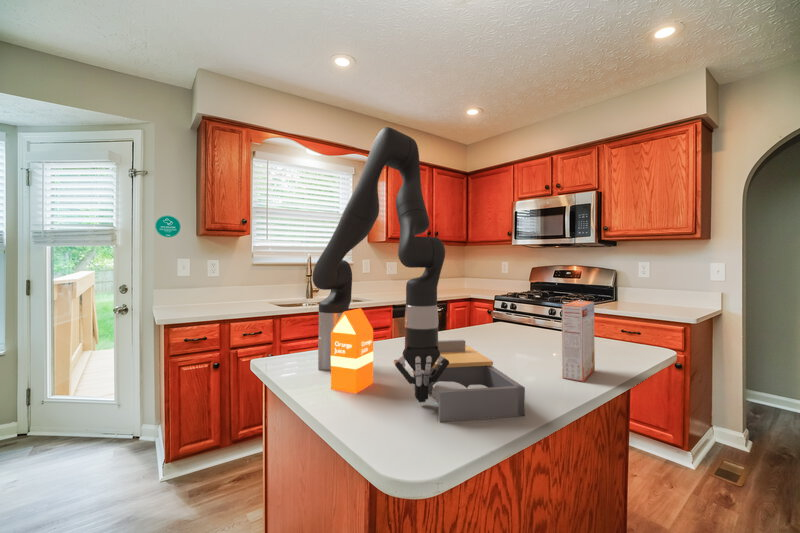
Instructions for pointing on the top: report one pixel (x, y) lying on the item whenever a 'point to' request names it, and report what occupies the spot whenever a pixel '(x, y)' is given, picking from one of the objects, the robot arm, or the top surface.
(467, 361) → the lid
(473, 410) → the box
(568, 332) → the cracker box
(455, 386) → the robot toy
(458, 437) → the top surface
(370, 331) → the orange juice
